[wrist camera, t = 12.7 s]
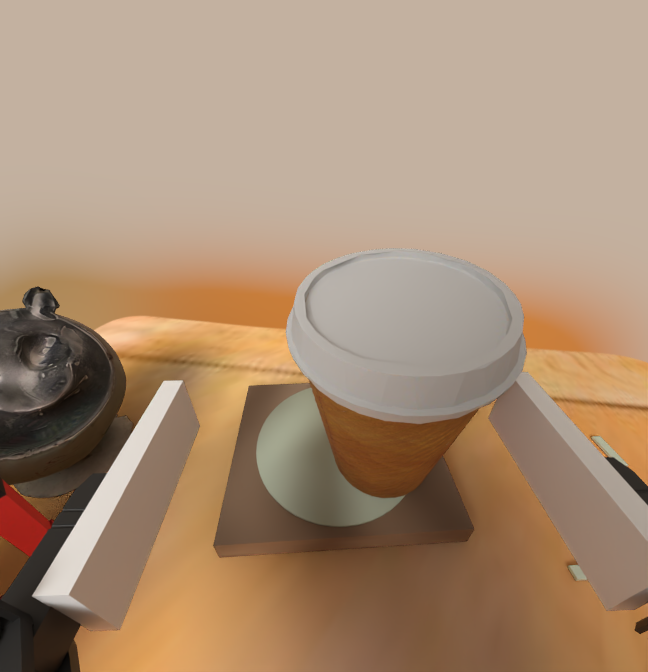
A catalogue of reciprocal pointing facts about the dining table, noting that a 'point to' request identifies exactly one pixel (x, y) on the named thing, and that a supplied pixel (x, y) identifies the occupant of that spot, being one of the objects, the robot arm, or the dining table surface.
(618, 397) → the dining table surface
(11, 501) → the mug
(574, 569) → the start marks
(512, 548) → the dining table surface
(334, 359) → the disposable coffee cup
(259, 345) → the dining table surface
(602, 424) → the dining table surface
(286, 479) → the board
